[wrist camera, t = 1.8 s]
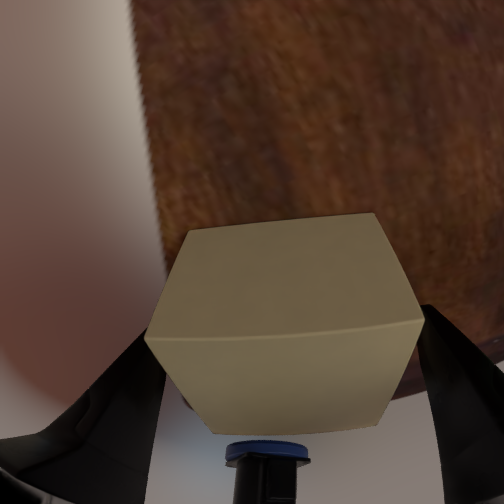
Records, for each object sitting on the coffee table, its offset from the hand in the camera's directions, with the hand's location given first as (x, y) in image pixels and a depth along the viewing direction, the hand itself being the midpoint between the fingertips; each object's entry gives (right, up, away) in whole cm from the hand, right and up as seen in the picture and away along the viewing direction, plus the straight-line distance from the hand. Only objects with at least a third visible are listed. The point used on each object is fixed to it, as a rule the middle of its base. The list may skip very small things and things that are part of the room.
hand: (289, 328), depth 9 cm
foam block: (0, +1, +1) cm, 2 cm away
